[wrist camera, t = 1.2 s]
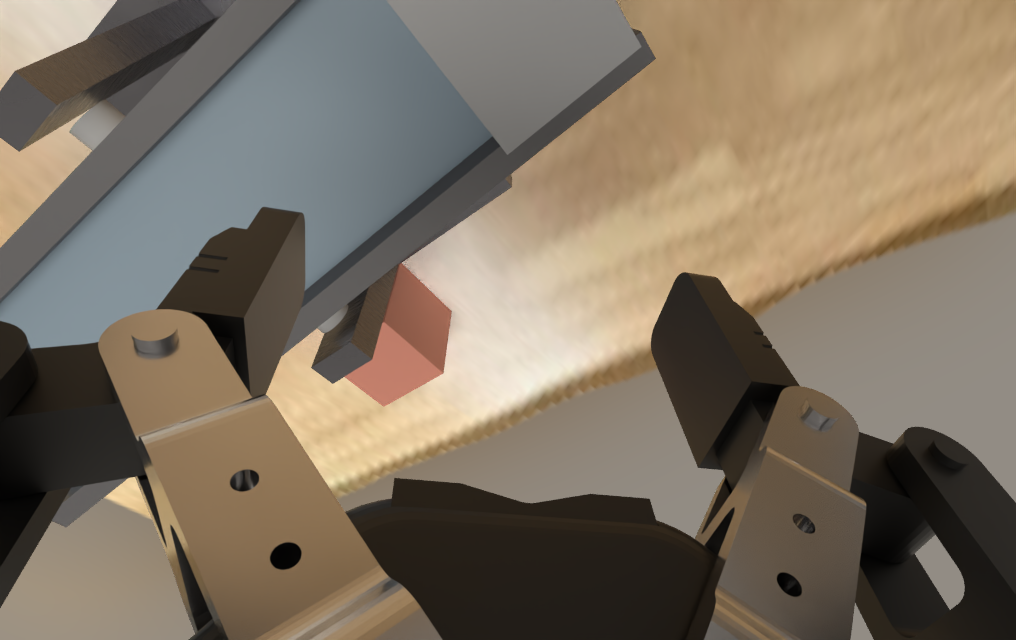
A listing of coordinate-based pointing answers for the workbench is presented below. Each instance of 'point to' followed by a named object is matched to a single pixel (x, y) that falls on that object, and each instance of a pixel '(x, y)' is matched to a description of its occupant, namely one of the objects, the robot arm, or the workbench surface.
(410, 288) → the block
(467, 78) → the balance beam
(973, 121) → the workbench surface
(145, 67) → the pivot stand
